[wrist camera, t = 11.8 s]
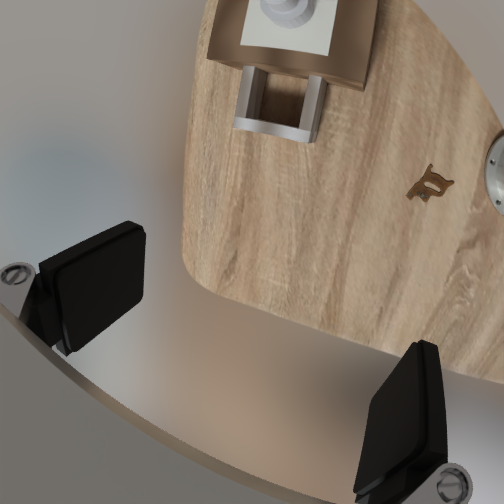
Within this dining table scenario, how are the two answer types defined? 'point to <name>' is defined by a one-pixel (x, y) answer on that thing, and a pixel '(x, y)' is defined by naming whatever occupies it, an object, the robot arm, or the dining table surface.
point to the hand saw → (427, 192)
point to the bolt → (287, 12)
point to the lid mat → (291, 29)
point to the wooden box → (294, 64)
